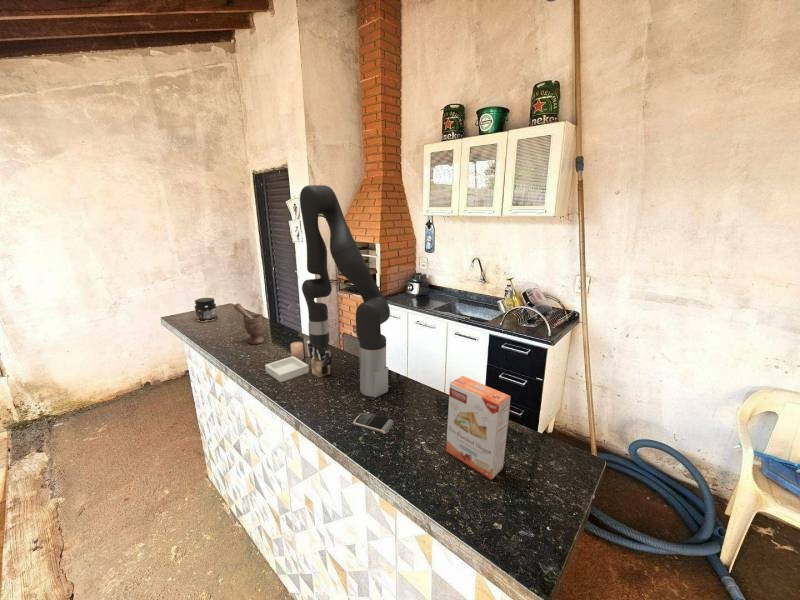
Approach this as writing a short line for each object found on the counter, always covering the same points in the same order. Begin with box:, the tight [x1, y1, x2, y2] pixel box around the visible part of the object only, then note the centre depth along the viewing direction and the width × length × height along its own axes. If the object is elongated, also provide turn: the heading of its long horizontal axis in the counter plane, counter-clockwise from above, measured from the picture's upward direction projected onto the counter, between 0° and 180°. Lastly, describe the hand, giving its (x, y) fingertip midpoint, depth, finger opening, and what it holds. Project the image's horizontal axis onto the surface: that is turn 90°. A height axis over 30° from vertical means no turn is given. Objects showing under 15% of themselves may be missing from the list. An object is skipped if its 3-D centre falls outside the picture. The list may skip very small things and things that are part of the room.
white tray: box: [264, 356, 310, 383], centre depth 135 cm, size 12×12×3 cm
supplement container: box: [194, 297, 218, 321], centre depth 195 cm, size 10×10×12 cm
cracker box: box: [445, 375, 511, 481], centre depth 86 cm, size 14×6×21 cm, turn 45°
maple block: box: [310, 356, 331, 378], centre depth 134 cm, size 5×5×6 cm
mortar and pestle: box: [233, 303, 266, 345], centre depth 161 cm, size 12×9×20 cm
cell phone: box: [353, 412, 394, 434], centre depth 104 cm, size 6×11×1 cm, turn 67°
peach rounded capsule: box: [290, 341, 305, 362], centre depth 146 cm, size 5×5×7 cm
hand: (321, 371), depth 135 cm, fingers closed on maple block, 5 cm apart
